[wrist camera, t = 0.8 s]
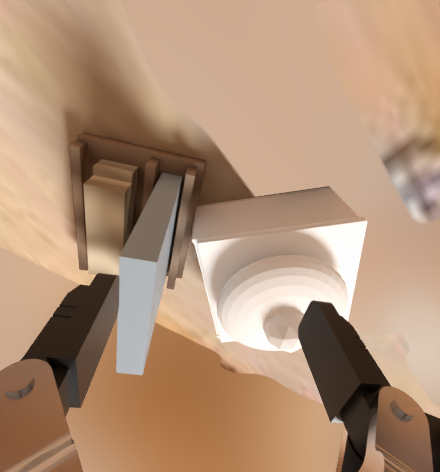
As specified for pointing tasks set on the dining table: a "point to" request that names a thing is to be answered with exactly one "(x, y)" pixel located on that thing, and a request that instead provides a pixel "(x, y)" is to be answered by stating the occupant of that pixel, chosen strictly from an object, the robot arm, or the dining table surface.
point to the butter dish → (276, 262)
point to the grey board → (145, 274)
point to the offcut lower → (123, 174)
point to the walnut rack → (138, 188)
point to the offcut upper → (106, 222)
